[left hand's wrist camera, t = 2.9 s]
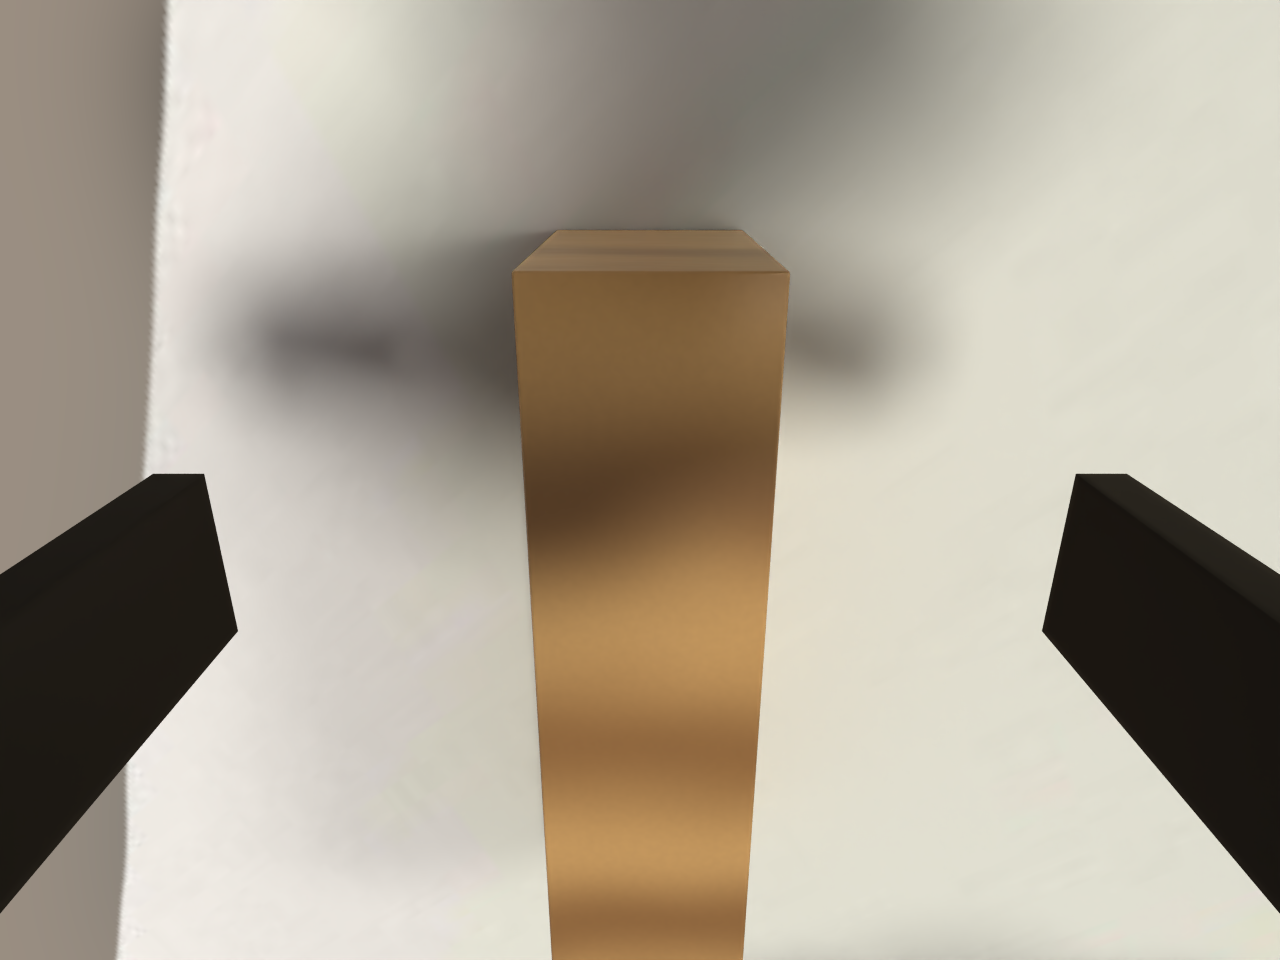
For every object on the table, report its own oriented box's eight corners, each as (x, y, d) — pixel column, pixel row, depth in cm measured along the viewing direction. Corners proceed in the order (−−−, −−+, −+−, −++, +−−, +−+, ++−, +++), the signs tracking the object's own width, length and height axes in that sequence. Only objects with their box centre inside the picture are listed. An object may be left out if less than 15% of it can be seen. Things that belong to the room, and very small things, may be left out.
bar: (556, 229, 24) (510, 270, 16) (743, 229, 24) (790, 271, 16) (578, 824, 33) (556, 1039, 25) (715, 825, 33) (737, 1041, 25)
